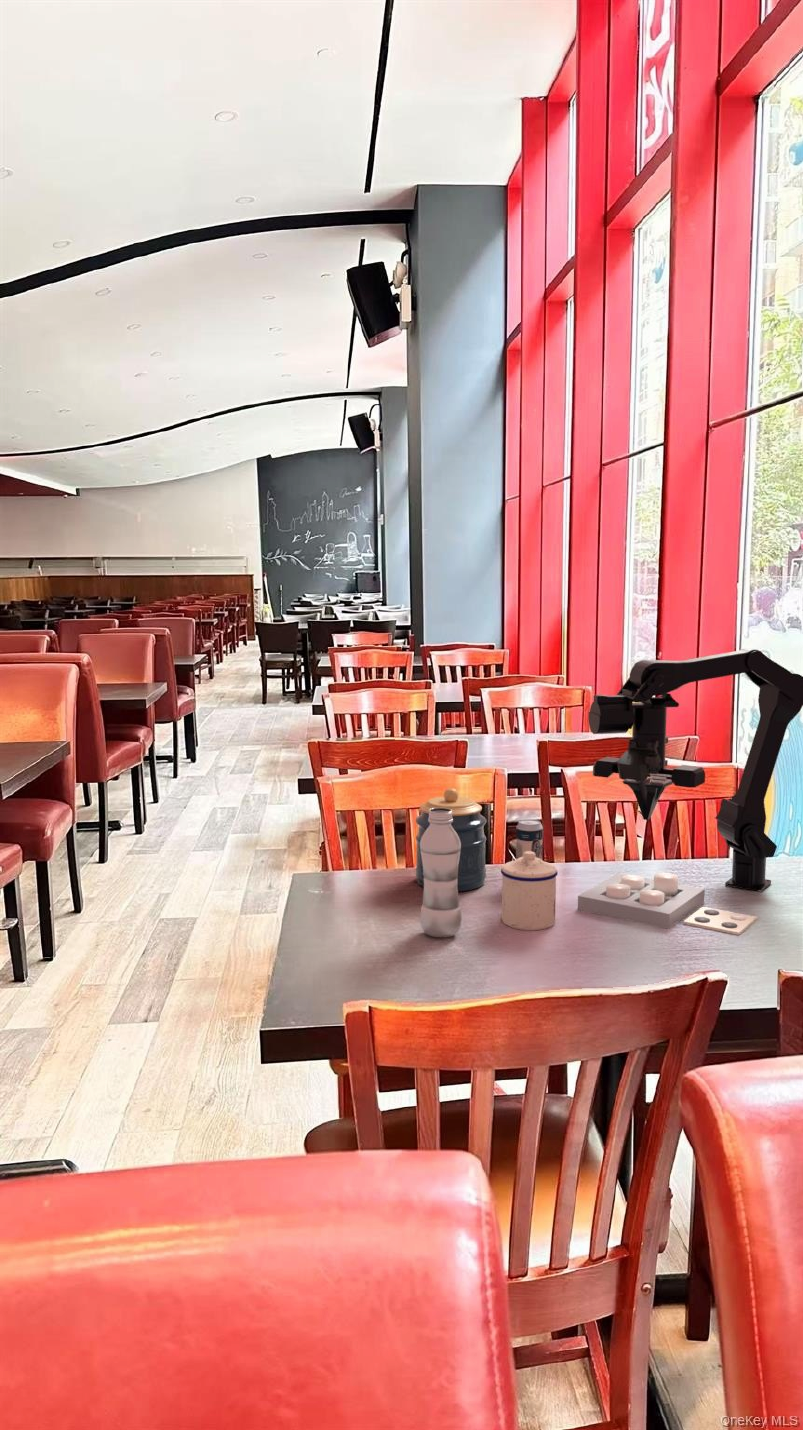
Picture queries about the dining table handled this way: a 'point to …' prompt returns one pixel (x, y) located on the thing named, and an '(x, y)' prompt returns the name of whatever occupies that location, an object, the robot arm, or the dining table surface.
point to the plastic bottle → (440, 875)
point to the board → (637, 911)
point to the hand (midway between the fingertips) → (646, 819)
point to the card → (720, 920)
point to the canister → (469, 833)
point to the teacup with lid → (528, 893)
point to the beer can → (529, 838)
